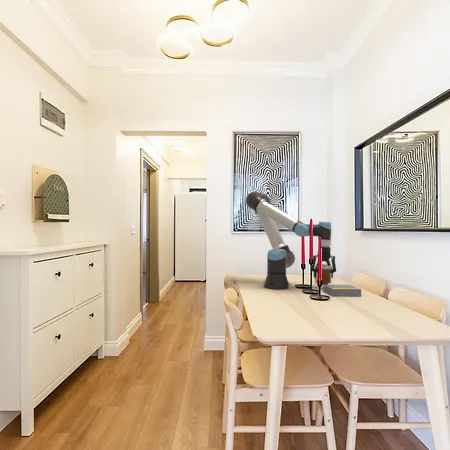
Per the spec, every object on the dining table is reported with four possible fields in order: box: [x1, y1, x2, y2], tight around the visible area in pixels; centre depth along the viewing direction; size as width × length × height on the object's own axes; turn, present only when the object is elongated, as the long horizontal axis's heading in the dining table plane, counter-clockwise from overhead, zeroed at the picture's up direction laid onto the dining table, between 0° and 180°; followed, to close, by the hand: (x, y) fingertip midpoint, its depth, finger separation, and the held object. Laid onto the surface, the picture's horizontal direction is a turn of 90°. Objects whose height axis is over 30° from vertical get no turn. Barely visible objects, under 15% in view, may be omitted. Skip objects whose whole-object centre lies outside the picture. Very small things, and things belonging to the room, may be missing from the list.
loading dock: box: [322, 284, 362, 297], centre depth 186 cm, size 16×14×4 cm
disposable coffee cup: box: [317, 263, 332, 286], centre depth 203 cm, size 10×10×12 cm
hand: (322, 283), depth 203 cm, fingers closed on disposable coffee cup, 8 cm apart
